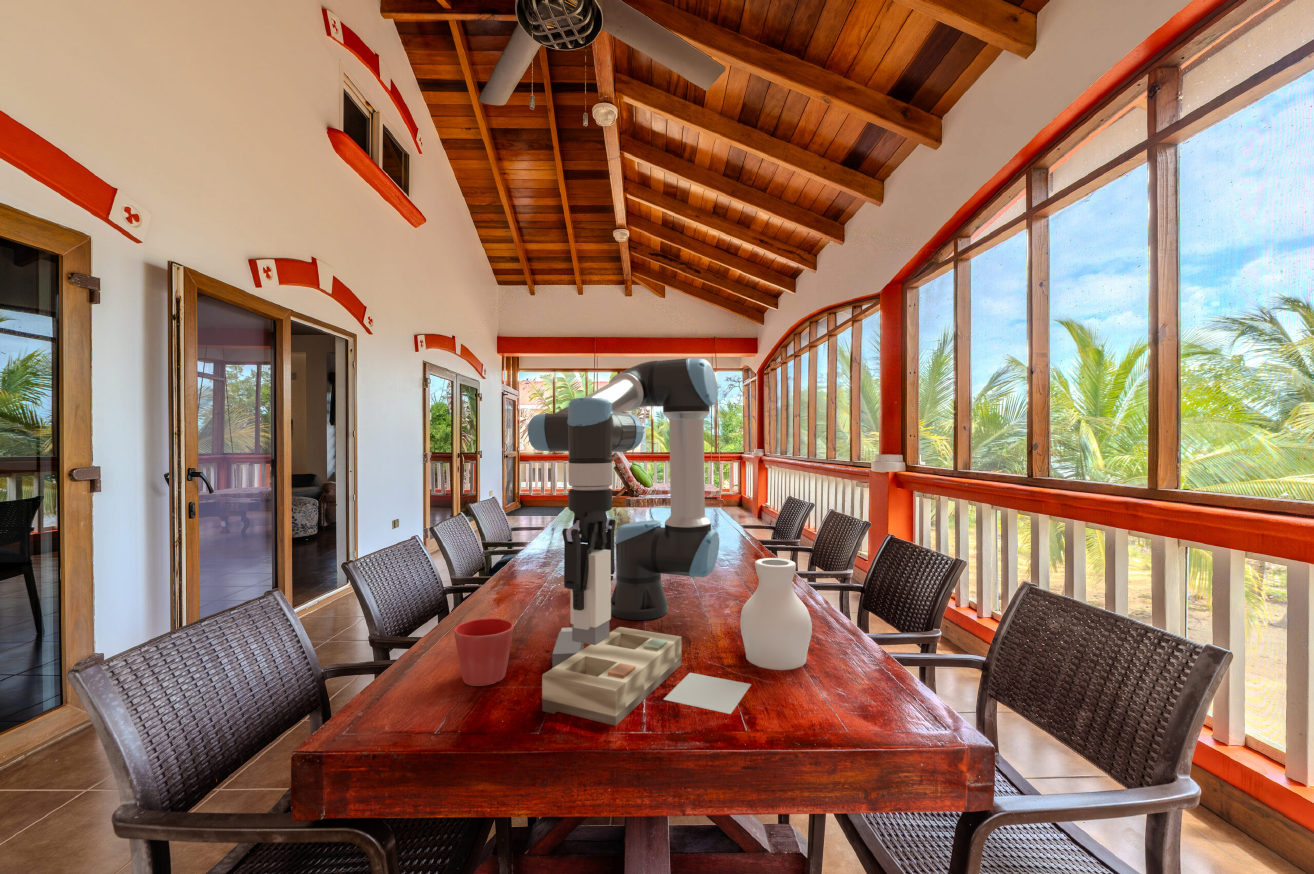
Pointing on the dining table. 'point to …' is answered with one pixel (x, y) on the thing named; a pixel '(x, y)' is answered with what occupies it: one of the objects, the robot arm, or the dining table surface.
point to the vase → (775, 619)
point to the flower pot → (483, 650)
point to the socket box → (611, 675)
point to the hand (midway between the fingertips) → (590, 622)
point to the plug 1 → (565, 647)
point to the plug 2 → (596, 599)
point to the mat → (708, 692)
